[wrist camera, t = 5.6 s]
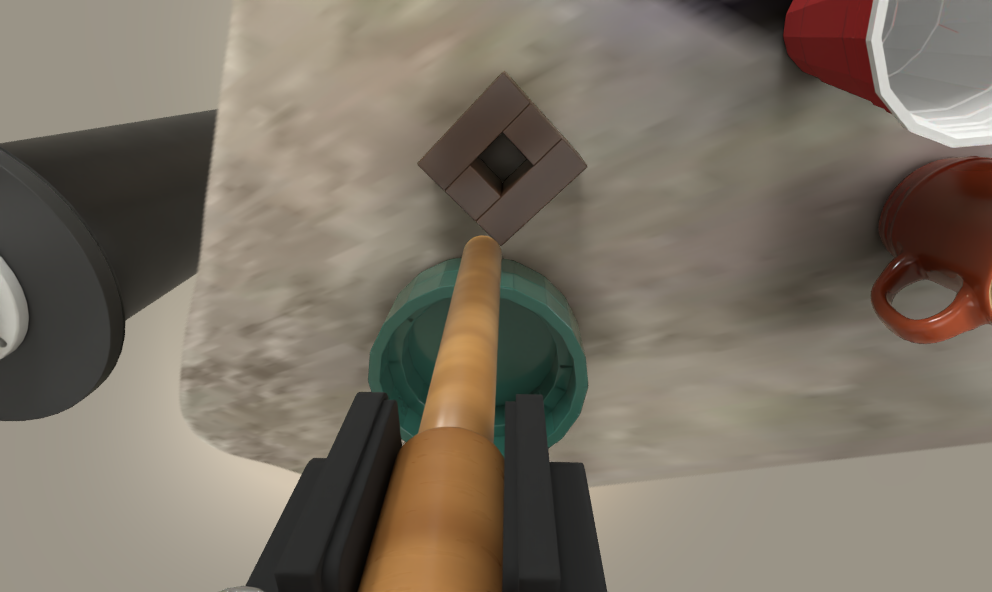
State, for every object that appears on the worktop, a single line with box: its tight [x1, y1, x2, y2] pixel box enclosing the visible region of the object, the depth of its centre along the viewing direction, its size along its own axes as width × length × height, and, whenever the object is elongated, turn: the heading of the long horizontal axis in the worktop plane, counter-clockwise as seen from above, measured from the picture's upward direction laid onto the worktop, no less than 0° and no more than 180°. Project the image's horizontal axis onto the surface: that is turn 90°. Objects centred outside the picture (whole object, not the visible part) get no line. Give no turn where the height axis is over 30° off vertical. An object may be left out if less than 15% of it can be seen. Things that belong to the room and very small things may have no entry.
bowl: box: [368, 258, 588, 457], centre depth 36 cm, size 15×15×6 cm
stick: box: [357, 236, 504, 592], centre depth 14 cm, size 2×2×18 cm
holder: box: [417, 71, 587, 246], centre depth 31 cm, size 7×7×4 cm
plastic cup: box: [783, 0, 992, 148], centre depth 24 cm, size 11×11×12 cm
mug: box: [871, 156, 992, 344], centre depth 29 cm, size 12×9×10 cm
